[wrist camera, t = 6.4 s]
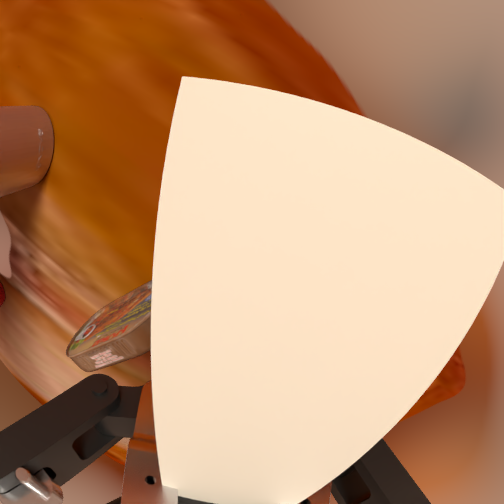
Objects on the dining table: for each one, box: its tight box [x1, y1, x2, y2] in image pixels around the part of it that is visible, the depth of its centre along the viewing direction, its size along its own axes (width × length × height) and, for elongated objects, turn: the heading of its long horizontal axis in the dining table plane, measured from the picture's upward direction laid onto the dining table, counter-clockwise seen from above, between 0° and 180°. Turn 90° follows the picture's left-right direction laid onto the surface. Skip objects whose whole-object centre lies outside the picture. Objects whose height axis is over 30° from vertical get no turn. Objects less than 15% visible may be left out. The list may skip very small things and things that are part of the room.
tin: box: [66, 280, 152, 372], centre depth 24 cm, size 15×3×8 cm, turn 119°
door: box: [151, 77, 504, 504], centre depth 9 cm, size 4×17×10 cm, turn 167°
